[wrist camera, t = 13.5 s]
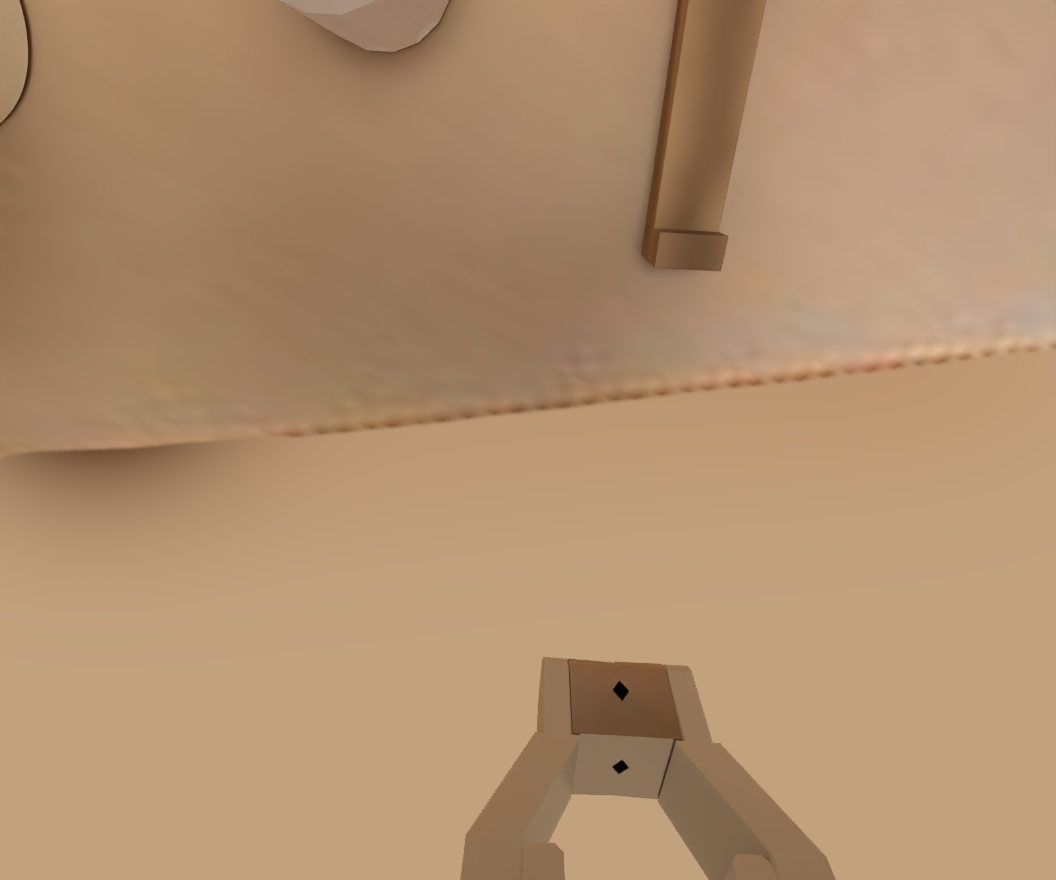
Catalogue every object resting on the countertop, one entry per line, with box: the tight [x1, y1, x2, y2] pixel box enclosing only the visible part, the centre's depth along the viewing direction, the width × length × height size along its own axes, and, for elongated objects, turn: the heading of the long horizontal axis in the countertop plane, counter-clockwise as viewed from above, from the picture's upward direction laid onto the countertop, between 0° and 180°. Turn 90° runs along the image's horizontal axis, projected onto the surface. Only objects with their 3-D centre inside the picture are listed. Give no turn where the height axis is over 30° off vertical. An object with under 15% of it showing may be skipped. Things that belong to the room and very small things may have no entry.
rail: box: [642, 0, 766, 271], centre depth 29 cm, size 4×23×5 cm, turn 177°
